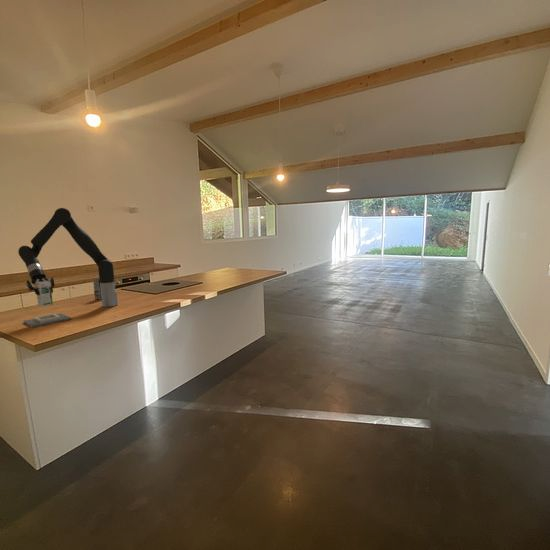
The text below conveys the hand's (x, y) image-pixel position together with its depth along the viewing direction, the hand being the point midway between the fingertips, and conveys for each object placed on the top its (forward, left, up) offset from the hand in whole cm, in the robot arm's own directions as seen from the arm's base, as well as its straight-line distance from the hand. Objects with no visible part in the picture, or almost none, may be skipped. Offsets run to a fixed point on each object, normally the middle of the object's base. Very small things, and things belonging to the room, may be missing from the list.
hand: (45, 293), depth 194 cm
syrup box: (0, -2, -7) cm, 8 cm away
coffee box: (-49, -41, -18) cm, 66 cm away
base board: (0, -2, -17) cm, 17 cm away
